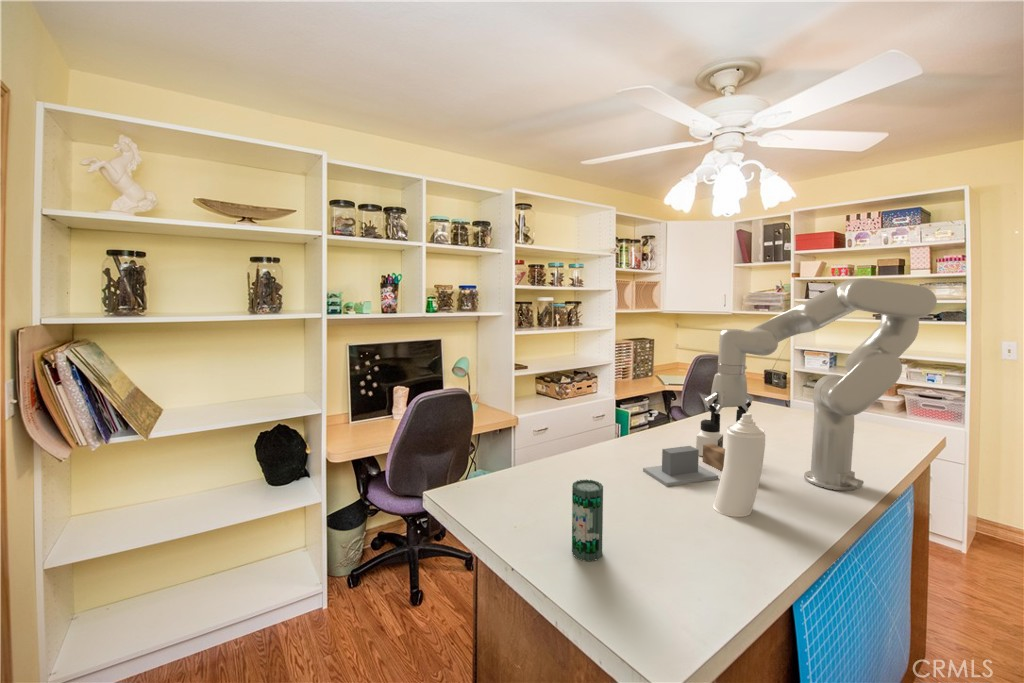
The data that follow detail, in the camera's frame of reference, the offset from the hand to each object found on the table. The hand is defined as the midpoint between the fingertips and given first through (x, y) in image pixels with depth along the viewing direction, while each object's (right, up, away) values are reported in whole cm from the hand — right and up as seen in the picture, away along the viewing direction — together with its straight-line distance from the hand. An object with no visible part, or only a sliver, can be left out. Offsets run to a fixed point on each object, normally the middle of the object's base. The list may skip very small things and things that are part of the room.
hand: (727, 424), depth 140 cm
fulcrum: (-15, -15, -1) cm, 22 cm away
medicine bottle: (+1, -14, +16) cm, 21 cm away
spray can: (-9, -18, -23) cm, 30 cm away
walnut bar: (+1, -15, +1) cm, 15 cm away
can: (-51, -20, -43) cm, 70 cm away
